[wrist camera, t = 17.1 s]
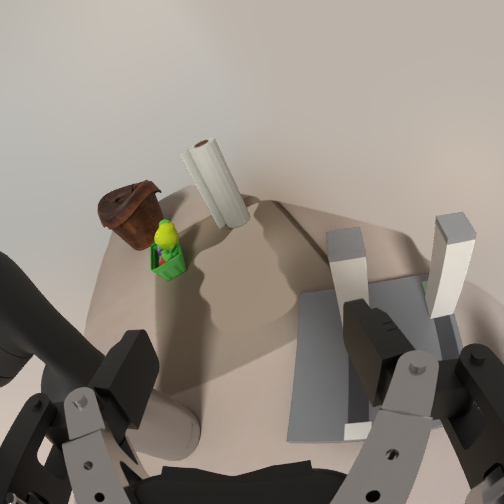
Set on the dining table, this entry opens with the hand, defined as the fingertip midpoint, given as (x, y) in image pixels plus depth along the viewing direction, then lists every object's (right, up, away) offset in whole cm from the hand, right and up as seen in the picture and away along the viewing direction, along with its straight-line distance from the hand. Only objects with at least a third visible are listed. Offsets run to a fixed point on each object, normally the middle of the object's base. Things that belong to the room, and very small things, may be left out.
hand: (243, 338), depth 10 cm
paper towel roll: (-3, +11, +56) cm, 57 cm away
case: (-30, +8, +69) cm, 76 cm away
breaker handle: (+14, -6, +23) cm, 27 cm away
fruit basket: (-17, 0, +52) cm, 55 cm away
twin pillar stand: (+17, -10, +20) cm, 28 cm away
